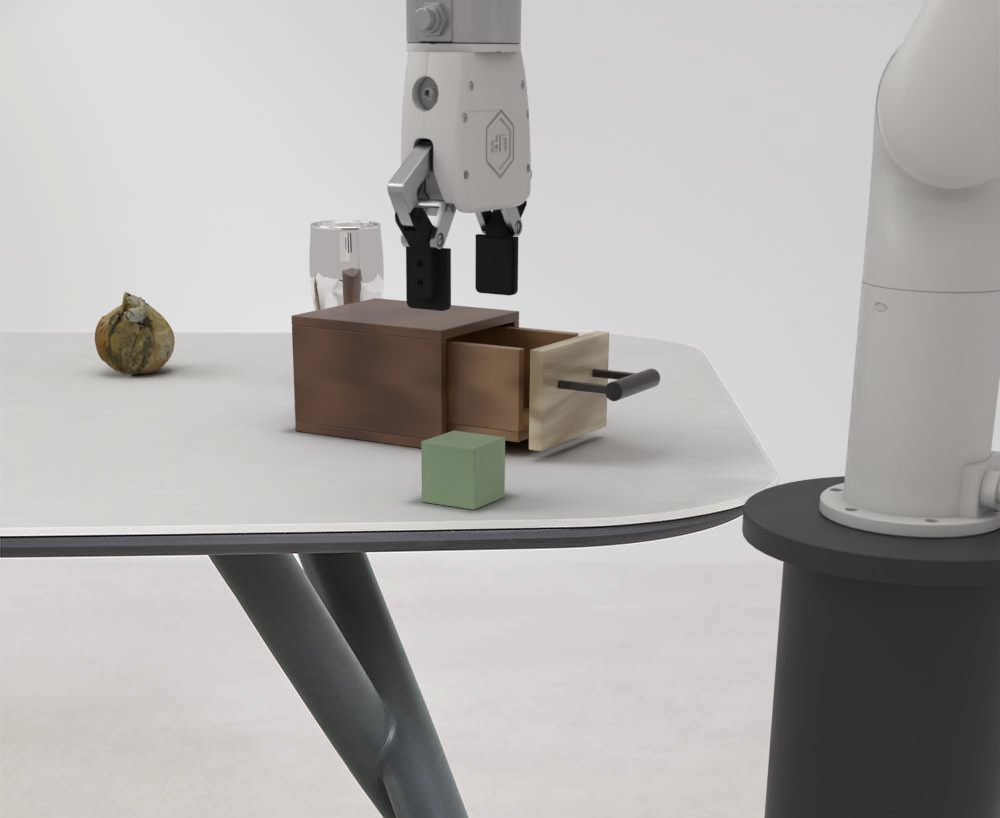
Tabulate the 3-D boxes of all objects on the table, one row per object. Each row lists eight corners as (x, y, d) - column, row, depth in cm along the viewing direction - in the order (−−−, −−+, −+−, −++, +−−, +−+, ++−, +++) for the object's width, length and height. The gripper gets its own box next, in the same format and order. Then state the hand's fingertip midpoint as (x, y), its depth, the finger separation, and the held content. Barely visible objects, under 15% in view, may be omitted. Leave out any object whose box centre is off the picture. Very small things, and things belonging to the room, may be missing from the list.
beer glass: (324, 395, 160) (319, 228, 154) (304, 382, 166) (299, 221, 160) (395, 390, 162) (393, 226, 157) (373, 378, 168) (370, 219, 163)
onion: (194, 371, 171) (189, 289, 168) (132, 382, 165) (125, 297, 162) (144, 362, 175) (139, 282, 172) (82, 373, 170) (75, 290, 166)
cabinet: (518, 424, 149) (519, 311, 145) (441, 451, 138) (441, 330, 135) (377, 406, 155) (375, 298, 152) (295, 431, 145) (290, 315, 141)
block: (504, 497, 125) (505, 437, 123) (474, 510, 121) (474, 448, 119) (453, 489, 127) (453, 430, 125) (421, 502, 123) (420, 441, 121)
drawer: (669, 433, 141) (673, 337, 138) (607, 460, 132) (610, 358, 129) (468, 409, 150) (469, 318, 147) (397, 432, 141) (396, 336, 138)
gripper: (442, 27, 103) (443, 321, 110) (576, 30, 117) (570, 291, 124) (340, 26, 107) (347, 312, 113) (481, 30, 121) (480, 283, 127)
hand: (463, 300), depth 118 cm, fingers open, 8 cm apart
